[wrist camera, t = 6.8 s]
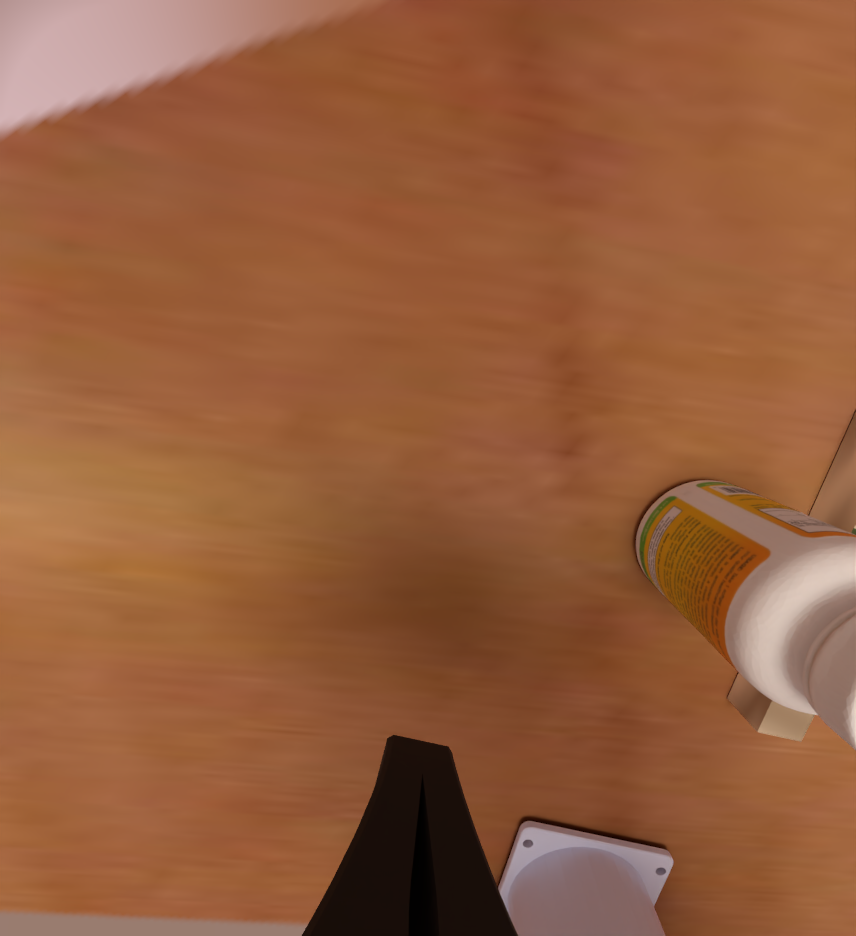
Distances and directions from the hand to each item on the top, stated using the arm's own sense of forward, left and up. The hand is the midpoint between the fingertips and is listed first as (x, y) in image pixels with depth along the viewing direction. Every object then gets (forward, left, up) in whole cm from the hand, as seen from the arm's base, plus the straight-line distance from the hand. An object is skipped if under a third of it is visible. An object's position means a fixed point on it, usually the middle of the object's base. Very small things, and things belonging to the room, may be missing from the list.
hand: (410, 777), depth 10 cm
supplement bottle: (+4, -11, -11) cm, 16 cm away
